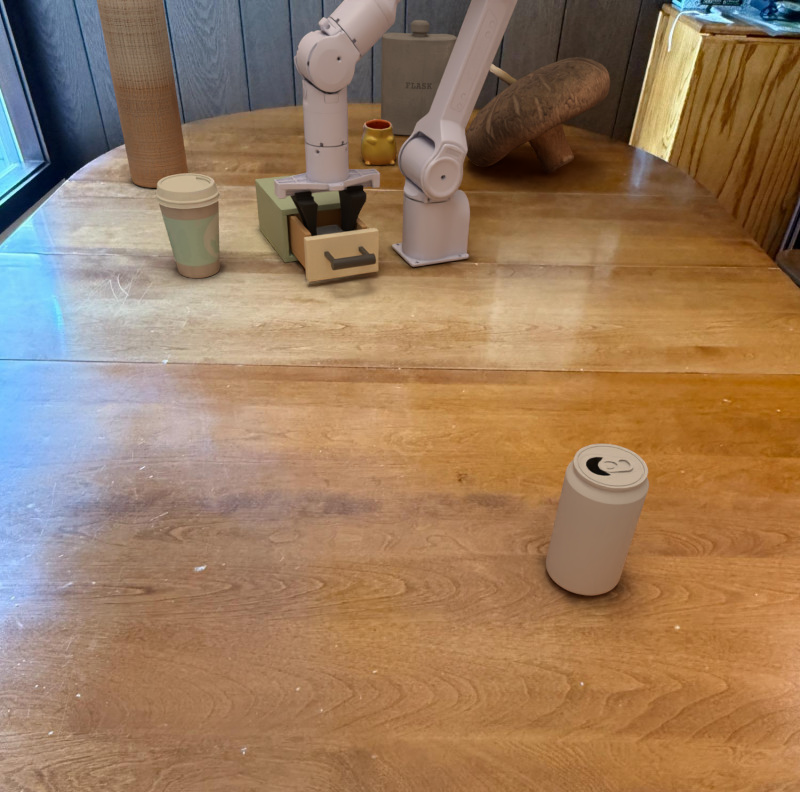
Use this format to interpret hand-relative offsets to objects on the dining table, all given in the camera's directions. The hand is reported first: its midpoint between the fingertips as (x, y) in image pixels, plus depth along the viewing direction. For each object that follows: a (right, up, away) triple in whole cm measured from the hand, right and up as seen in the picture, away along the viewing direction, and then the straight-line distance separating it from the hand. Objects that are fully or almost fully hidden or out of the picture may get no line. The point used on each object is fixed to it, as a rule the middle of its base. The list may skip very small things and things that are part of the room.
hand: (329, 243), depth 111 cm
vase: (-33, +22, +28) cm, 48 cm away
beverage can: (+26, -45, -43) cm, 68 cm away
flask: (+13, +44, +54) cm, 71 cm away
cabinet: (-4, +4, +9) cm, 11 cm away
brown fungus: (+35, +28, +38) cm, 59 cm away
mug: (+6, +32, +41) cm, 53 cm away
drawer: (+1, -3, +1) cm, 3 cm away
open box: (0, -1, +1) cm, 1 cm away
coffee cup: (-19, -4, +1) cm, 19 cm away
